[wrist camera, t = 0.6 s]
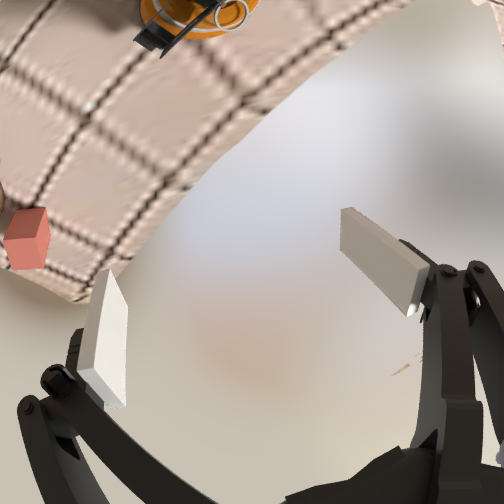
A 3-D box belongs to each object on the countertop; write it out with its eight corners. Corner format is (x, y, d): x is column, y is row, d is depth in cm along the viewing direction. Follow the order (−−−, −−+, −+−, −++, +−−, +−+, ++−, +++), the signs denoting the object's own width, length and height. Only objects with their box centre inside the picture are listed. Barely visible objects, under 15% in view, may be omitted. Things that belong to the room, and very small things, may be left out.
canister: (231, 3, 25) (330, -17, 12) (169, 66, 29) (209, 94, 15) (178, -38, 19) (233, -107, 6) (111, 28, 23) (85, 12, 9)
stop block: (16, 210, 31) (2, 240, 26) (45, 207, 33) (35, 237, 28) (22, 238, 34) (12, 270, 29) (50, 236, 36) (43, 268, 31)
